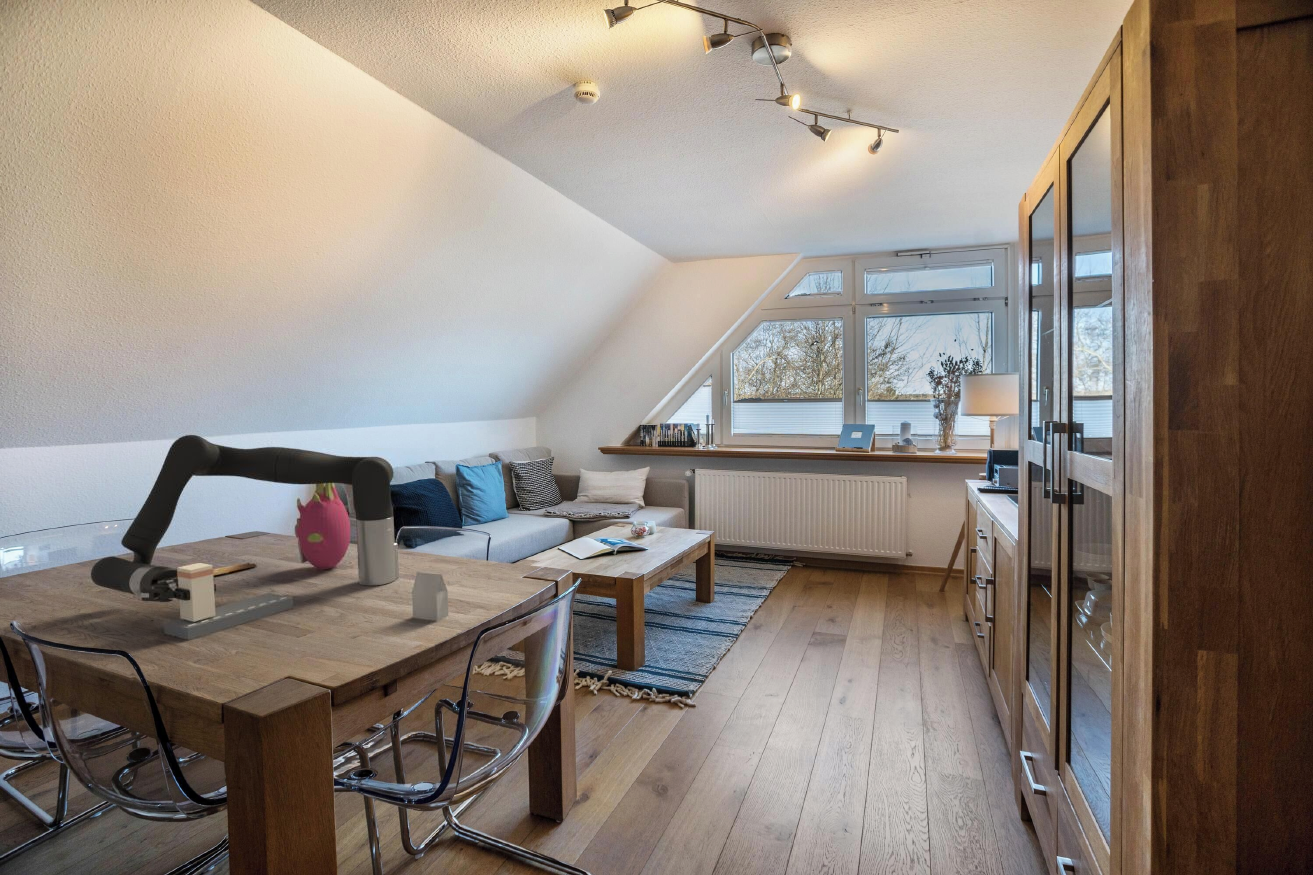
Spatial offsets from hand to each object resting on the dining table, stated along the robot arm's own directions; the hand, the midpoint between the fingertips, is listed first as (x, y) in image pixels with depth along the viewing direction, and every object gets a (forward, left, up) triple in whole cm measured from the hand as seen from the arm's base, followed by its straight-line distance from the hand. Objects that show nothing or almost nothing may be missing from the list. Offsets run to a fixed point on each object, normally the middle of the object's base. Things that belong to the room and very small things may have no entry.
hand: (201, 592), depth 144 cm
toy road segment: (-7, -2, -8) cm, 11 cm away
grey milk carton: (-28, +37, -9) cm, 47 cm away
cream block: (0, -2, -6) cm, 6 cm away
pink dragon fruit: (-46, -23, -9) cm, 52 cm away
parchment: (-28, -48, -9) cm, 56 cm away
